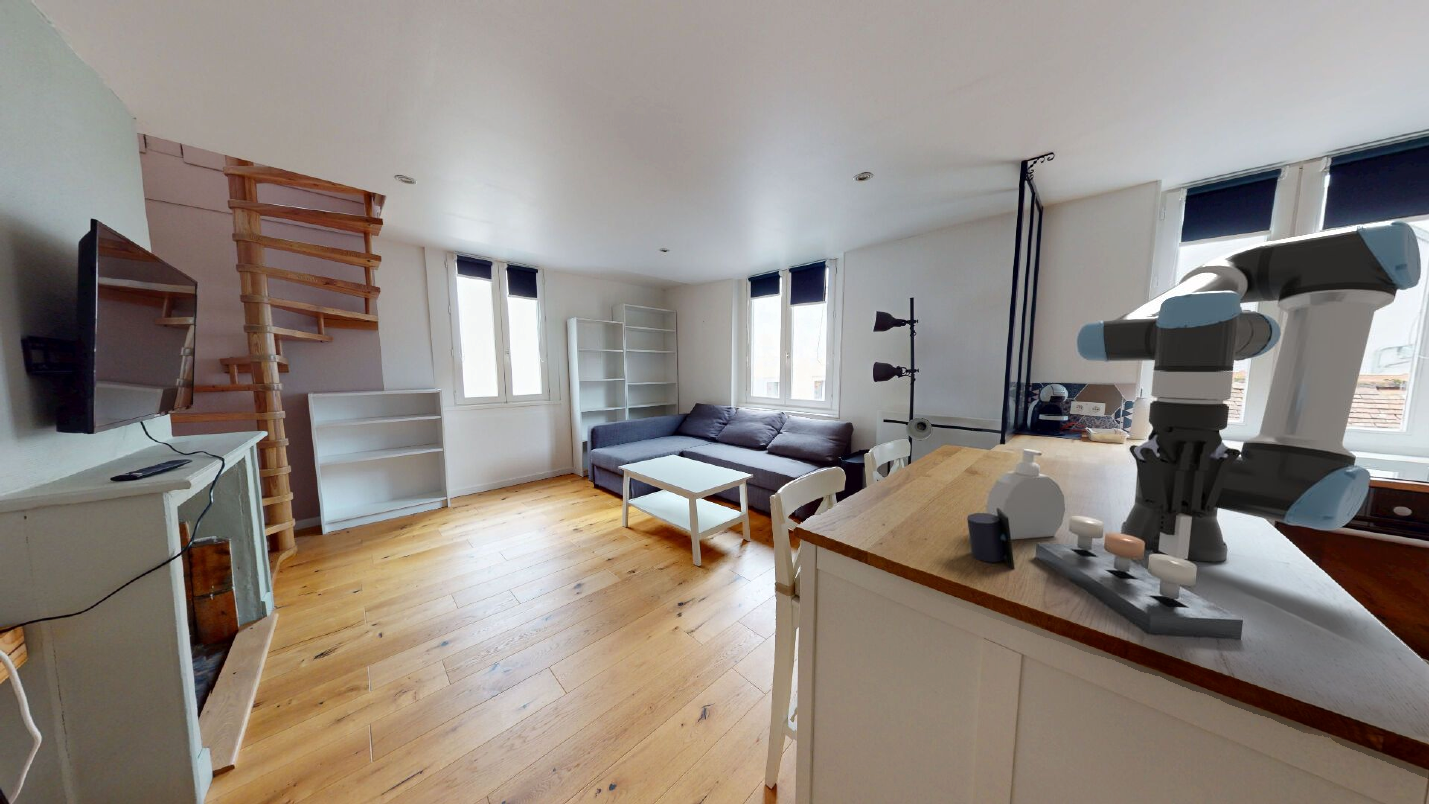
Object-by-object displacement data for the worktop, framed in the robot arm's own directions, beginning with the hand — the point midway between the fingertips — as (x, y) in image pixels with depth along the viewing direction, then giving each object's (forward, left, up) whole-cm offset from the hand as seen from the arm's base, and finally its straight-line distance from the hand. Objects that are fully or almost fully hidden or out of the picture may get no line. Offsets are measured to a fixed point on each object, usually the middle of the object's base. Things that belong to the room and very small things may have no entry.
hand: (1172, 554), depth 61 cm
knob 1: (0, -16, -7) cm, 17 cm away
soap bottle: (+1, -32, -11) cm, 33 cm away
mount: (0, -8, -11) cm, 13 cm away
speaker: (+16, -19, -11) cm, 27 cm away
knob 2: (0, 0, -7) cm, 7 cm away
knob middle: (0, -8, -7) cm, 10 cm away
